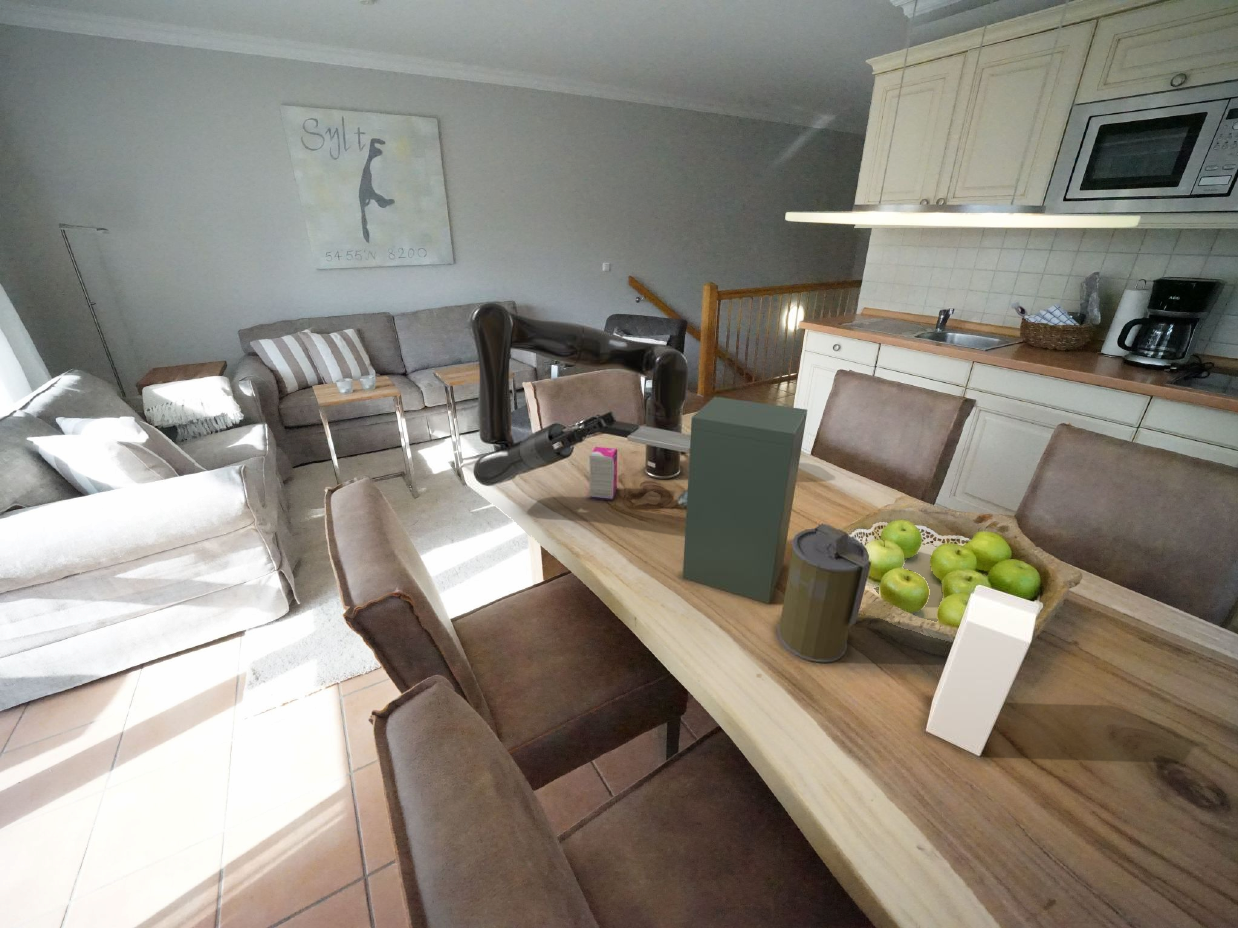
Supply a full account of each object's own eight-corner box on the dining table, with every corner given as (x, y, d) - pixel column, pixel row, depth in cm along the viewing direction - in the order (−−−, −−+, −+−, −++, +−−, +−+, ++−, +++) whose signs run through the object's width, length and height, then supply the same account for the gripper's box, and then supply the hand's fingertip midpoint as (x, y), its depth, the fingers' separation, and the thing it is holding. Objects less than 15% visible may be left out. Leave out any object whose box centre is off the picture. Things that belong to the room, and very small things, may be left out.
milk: (932, 700, 70) (978, 570, 61) (984, 723, 67) (1041, 589, 58) (925, 732, 66) (973, 597, 57) (980, 758, 63) (1041, 619, 53)
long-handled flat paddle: (596, 421, 101) (595, 414, 101) (701, 441, 92) (701, 434, 91) (580, 431, 96) (580, 424, 96) (689, 453, 87) (690, 445, 87)
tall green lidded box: (703, 545, 105) (714, 396, 91) (782, 566, 98) (807, 409, 84) (682, 578, 95) (691, 417, 81) (768, 604, 88) (794, 433, 75)
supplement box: (613, 501, 122) (612, 457, 117) (589, 498, 123) (587, 455, 118) (617, 489, 127) (617, 447, 122) (594, 487, 128) (593, 446, 123)
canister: (764, 633, 82) (779, 528, 73) (802, 606, 88) (821, 506, 79) (824, 676, 74) (850, 564, 66) (862, 643, 80) (890, 536, 71)
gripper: (516, 442, 100) (580, 413, 90) (556, 420, 111) (617, 391, 101) (534, 476, 101) (599, 450, 91) (572, 450, 112) (633, 425, 102)
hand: (608, 419), depth 96 cm, fingers closed on long-handled flat paddle, 3 cm apart
